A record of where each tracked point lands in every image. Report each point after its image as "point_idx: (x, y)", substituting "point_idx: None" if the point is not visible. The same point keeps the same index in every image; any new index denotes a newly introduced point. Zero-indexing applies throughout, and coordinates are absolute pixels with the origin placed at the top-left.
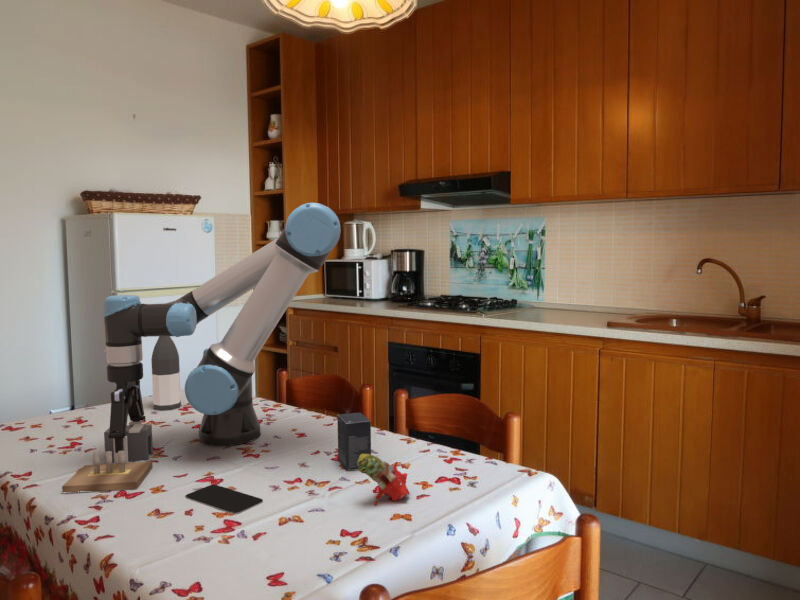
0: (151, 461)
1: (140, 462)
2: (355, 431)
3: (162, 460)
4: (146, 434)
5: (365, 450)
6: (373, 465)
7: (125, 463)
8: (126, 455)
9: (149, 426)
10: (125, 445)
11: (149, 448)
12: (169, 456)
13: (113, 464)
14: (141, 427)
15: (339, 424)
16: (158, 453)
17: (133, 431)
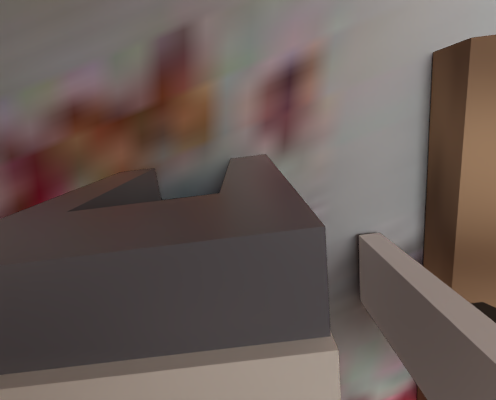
0: (477, 41)
1: (476, 129)
2: None
3: (277, 37)
4: (278, 202)
5: None
6: None
7: (469, 231)
8: (420, 266)
9: (11, 265)
10: (489, 326)
11: (143, 189)
12: (189, 12)
13: (472, 297)
14: (162, 381)
15: None
16: (125, 129)
17: None
